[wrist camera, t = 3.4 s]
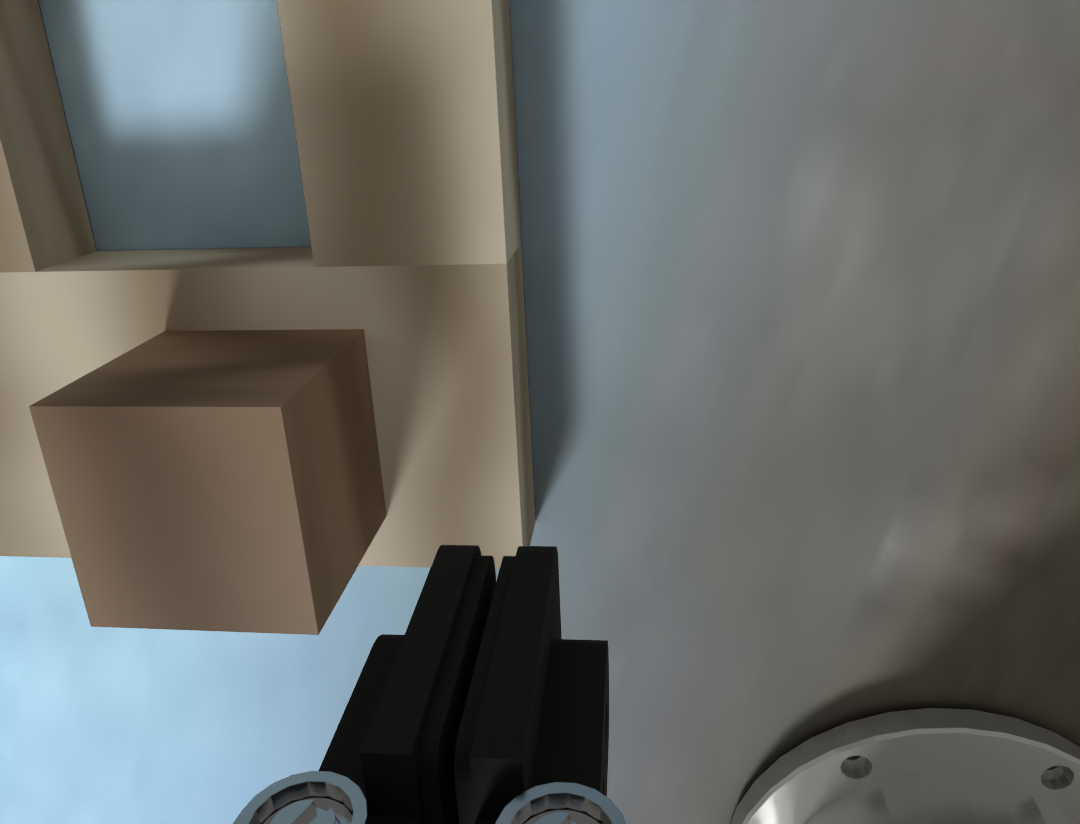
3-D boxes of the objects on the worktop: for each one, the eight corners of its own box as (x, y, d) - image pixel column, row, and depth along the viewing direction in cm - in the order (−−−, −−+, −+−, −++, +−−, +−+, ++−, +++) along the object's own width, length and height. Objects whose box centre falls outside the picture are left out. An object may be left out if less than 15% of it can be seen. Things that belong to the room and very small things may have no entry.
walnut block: (363, 329, 20) (281, 407, 16) (386, 515, 22) (318, 634, 18) (164, 330, 21) (28, 406, 16) (203, 512, 23) (90, 626, 18)
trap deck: (503, -126, 19) (449, -198, 14) (535, 522, 25) (506, 641, 20) (-372, -63, 21) (-690, -102, 16) (-153, 508, 27) (-335, 610, 22)
